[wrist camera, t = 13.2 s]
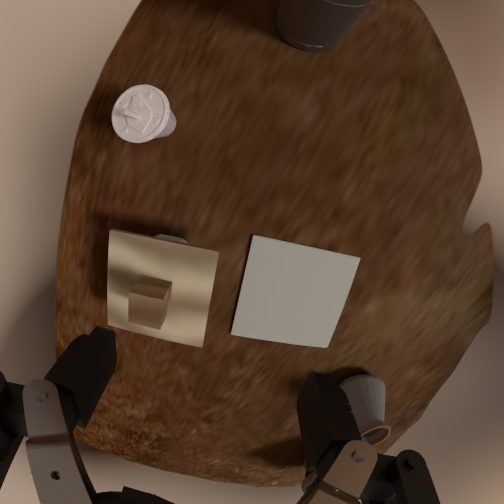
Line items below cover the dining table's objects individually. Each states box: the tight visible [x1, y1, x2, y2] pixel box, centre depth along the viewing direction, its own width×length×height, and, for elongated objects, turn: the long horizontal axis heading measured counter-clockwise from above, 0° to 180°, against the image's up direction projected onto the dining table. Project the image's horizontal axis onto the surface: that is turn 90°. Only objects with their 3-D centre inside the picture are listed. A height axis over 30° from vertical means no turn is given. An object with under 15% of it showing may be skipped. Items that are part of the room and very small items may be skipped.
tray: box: [231, 234, 360, 348], centre depth 42 cm, size 16×16×1 cm
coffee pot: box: [339, 375, 391, 446], centre depth 43 cm, size 21×12×15 cm, turn 162°
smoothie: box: [112, 85, 176, 143], centre depth 28 cm, size 6×6×14 cm
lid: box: [107, 228, 219, 347], centre depth 33 cm, size 14×14×6 cm
